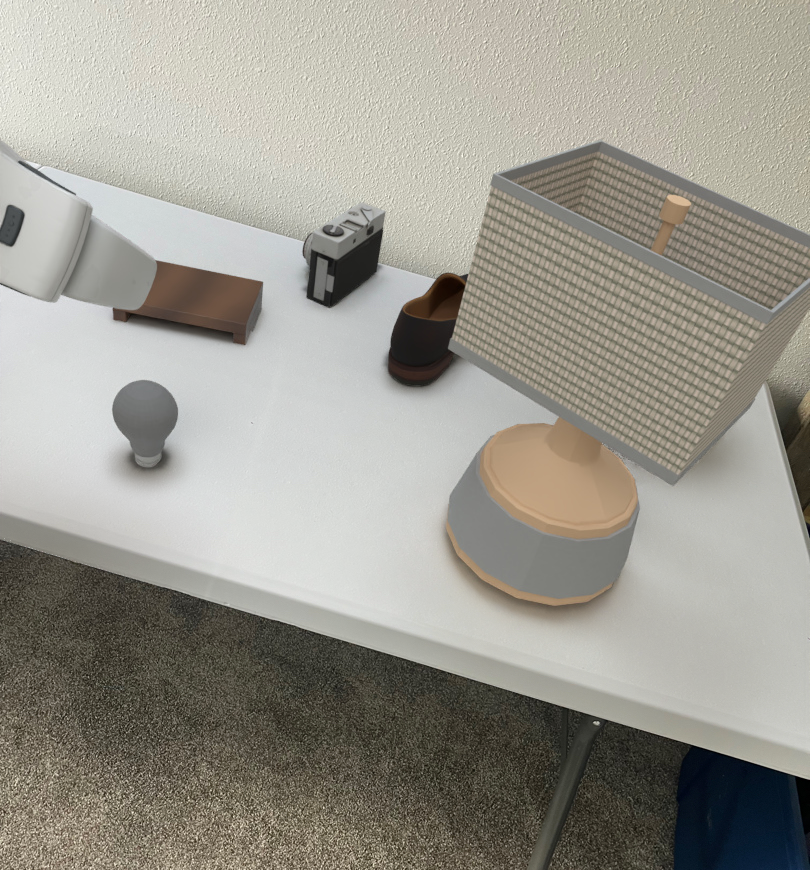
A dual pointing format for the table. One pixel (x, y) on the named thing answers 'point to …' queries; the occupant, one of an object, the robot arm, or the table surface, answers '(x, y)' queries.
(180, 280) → the shelf
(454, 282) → the loafer
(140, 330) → the table surface
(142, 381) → the light bulb
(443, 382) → the table surface
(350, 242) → the camera
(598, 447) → the desk lamp
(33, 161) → the table surface
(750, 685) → the table surface
